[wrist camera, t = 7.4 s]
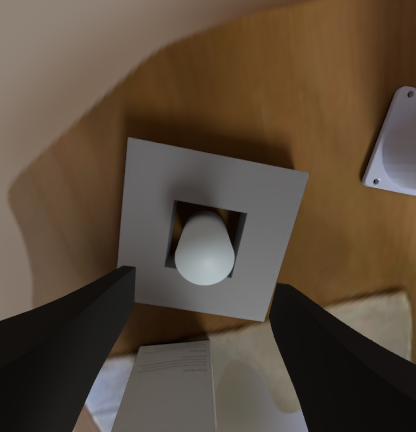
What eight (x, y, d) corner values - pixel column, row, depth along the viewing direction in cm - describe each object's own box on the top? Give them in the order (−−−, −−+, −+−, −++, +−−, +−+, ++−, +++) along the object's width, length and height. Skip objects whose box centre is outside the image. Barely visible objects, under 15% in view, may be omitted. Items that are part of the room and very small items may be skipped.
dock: (295, 172, 18) (309, 173, 15) (257, 303, 21) (263, 321, 19) (139, 140, 17) (127, 137, 15) (125, 283, 20) (114, 298, 18)
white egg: (228, 213, 19) (239, 235, 13) (222, 252, 20) (229, 288, 14) (186, 207, 19) (178, 226, 13) (181, 247, 20) (171, 281, 14)
